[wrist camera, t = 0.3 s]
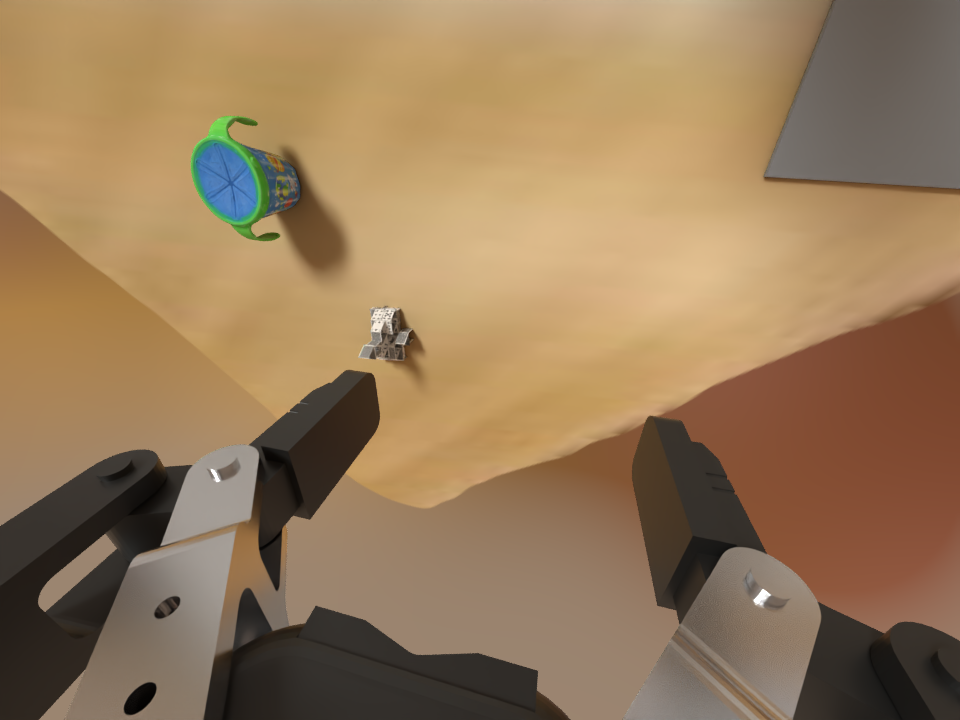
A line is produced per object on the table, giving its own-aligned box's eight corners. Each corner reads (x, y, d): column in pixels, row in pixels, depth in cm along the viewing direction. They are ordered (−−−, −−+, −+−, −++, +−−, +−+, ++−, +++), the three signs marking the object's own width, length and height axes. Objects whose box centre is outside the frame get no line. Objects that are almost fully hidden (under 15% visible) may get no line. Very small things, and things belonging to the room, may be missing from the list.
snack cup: (242, 116, 37) (174, 104, 31) (307, 129, 36) (251, 119, 30) (258, 227, 43) (203, 236, 36) (315, 240, 42) (269, 252, 36)
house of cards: (443, 371, 47) (422, 403, 40) (383, 365, 49) (354, 395, 42) (438, 307, 43) (414, 332, 36) (373, 303, 45) (339, 326, 38)
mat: (849, -40, 24) (853, -44, 23) (1201, -51, 21) (1212, -55, 20) (763, 176, 30) (765, 176, 29) (1023, 192, 27) (1029, 193, 26)
